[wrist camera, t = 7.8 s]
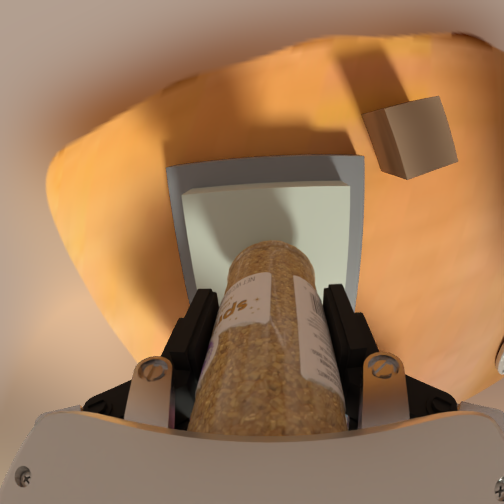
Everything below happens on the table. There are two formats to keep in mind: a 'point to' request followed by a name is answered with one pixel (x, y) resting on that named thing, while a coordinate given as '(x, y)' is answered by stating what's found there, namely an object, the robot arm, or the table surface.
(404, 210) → the table surface
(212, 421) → the sprinkles bottle
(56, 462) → the robot arm
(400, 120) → the walnut block
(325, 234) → the podium
